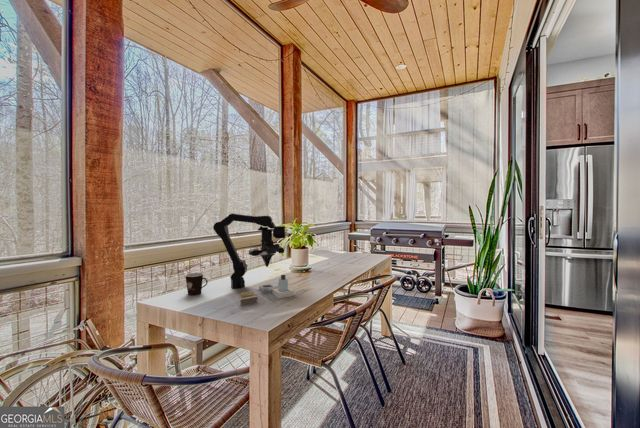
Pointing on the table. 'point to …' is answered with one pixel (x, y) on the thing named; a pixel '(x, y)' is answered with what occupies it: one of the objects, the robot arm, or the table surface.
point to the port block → (283, 293)
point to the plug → (283, 284)
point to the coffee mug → (194, 283)
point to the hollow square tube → (266, 288)
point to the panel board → (272, 296)
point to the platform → (248, 298)
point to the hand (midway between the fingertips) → (266, 266)
